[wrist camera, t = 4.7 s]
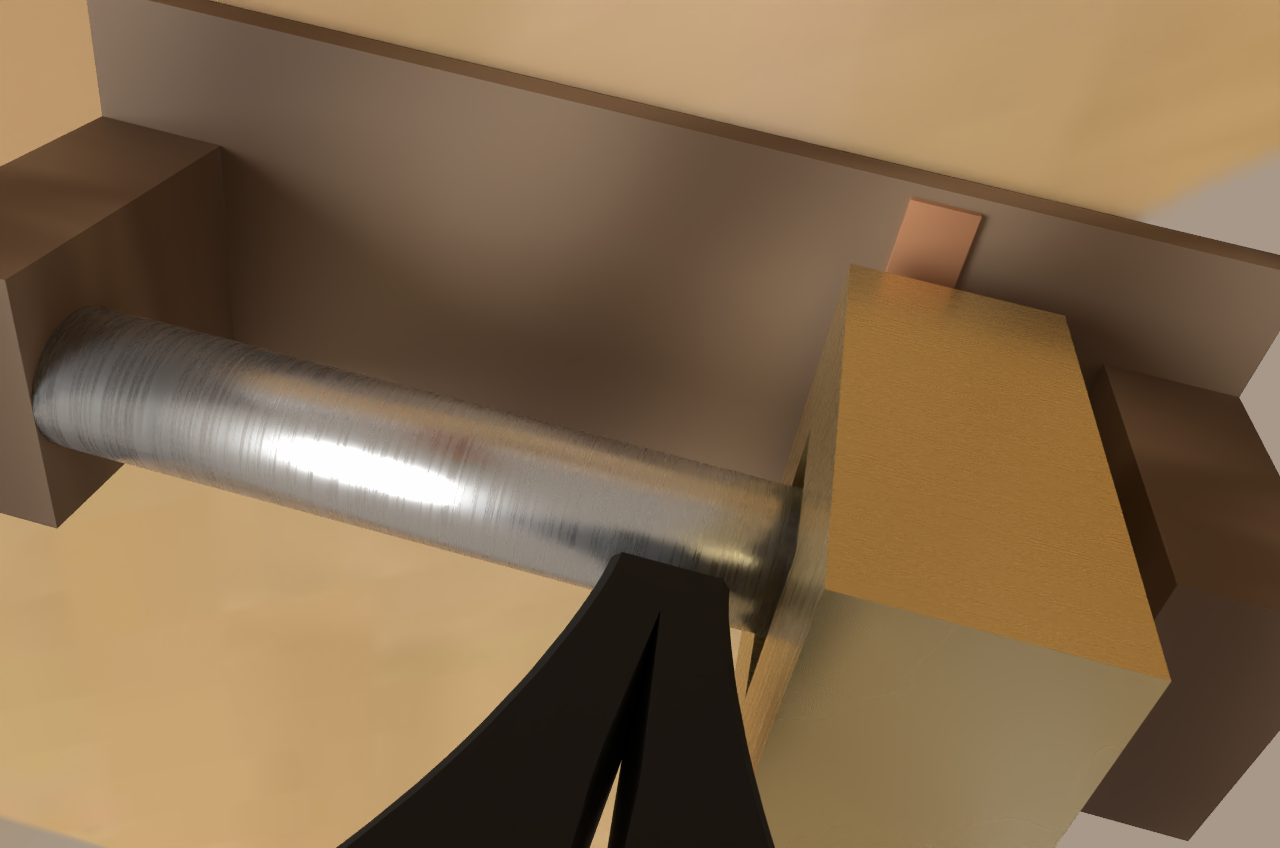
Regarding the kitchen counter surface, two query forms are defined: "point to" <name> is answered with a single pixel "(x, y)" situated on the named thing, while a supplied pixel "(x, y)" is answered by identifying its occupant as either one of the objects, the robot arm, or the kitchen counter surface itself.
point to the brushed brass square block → (947, 587)
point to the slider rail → (637, 299)
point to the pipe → (407, 459)
